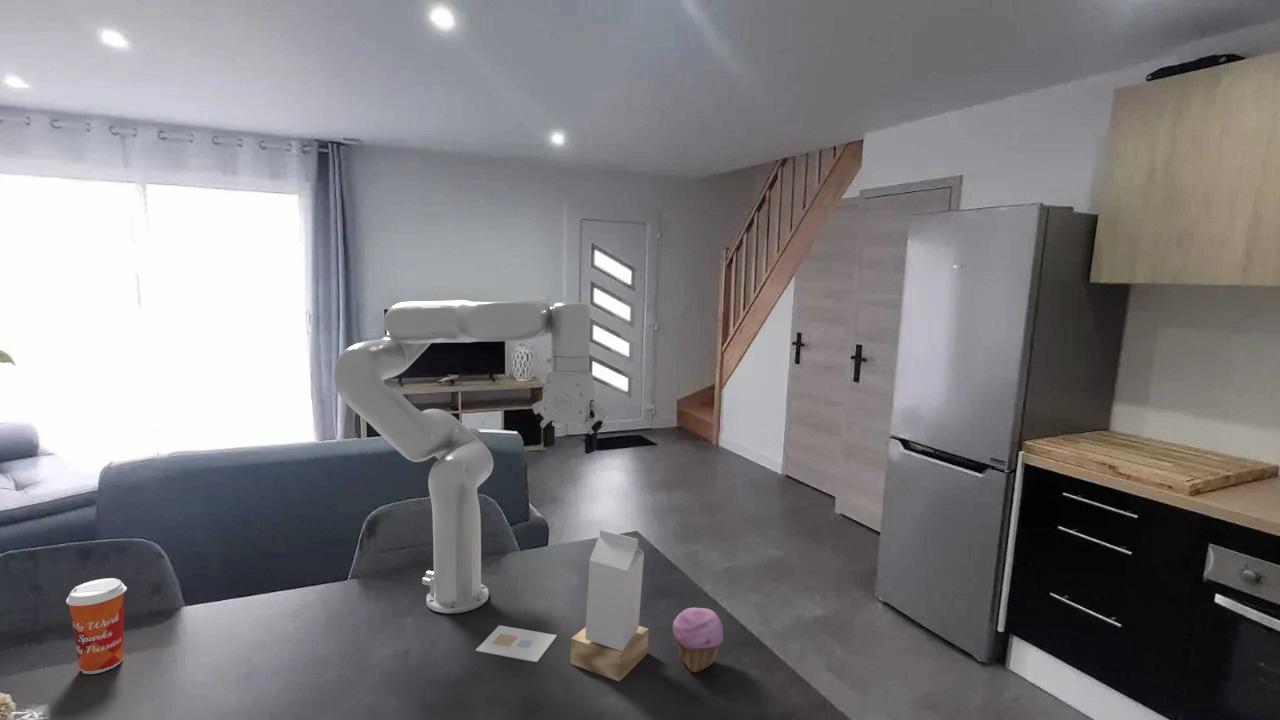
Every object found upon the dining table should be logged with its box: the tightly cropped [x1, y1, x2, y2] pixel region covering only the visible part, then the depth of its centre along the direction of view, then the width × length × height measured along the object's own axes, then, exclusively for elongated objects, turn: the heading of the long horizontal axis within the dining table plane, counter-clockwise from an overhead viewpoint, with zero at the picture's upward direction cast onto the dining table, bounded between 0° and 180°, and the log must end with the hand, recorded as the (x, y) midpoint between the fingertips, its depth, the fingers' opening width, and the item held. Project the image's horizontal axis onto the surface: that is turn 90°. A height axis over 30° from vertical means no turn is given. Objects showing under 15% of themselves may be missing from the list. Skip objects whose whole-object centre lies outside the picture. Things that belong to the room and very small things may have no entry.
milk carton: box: [585, 529, 645, 651], centre depth 111 cm, size 7×7×19 cm
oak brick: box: [570, 625, 650, 682], centre depth 115 cm, size 10×10×5 cm
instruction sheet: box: [475, 624, 558, 663], centre depth 119 cm, size 12×9×1 cm
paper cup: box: [65, 577, 128, 671], centre depth 109 cm, size 8×8×14 cm
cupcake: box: [672, 607, 724, 673], centre depth 113 cm, size 9×9×10 cm
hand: (569, 449), depth 129 cm, fingers open, 9 cm apart
